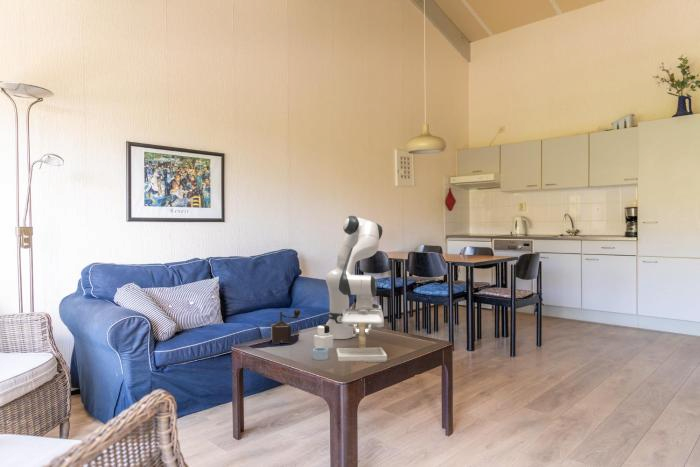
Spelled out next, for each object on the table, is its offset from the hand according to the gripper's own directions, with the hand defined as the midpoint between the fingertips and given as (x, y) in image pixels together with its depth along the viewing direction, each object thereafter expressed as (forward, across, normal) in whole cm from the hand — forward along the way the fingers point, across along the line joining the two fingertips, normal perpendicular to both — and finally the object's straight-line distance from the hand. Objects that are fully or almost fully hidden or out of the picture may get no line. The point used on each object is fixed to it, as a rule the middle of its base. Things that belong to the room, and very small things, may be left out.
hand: (361, 333), depth 215 cm
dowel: (+5, 0, +5) cm, 7 cm away
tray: (+8, -1, +8) cm, 12 cm away
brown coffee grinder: (-12, -45, +29) cm, 55 cm away
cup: (+12, -19, +4) cm, 23 cm away
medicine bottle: (-2, -21, +19) cm, 29 cm away
